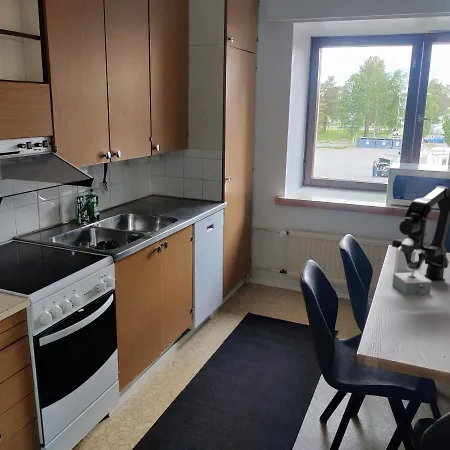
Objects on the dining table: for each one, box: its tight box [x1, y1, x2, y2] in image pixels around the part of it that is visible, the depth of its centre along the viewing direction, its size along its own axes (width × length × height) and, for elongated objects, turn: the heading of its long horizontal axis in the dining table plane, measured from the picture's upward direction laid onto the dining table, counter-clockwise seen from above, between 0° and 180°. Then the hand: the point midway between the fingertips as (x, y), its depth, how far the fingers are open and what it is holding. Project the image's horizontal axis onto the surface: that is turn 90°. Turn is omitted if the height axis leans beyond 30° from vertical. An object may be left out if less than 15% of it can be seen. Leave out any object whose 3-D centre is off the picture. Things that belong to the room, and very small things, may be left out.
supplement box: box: [393, 246, 417, 274], centre depth 216 cm, size 7×7×13 cm
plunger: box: [406, 260, 422, 278], centre depth 198 cm, size 8×8×8 cm
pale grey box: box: [391, 271, 433, 297], centre depth 198 cm, size 11×14×6 cm
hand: (413, 266), depth 197 cm, fingers closed on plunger, 4 cm apart
